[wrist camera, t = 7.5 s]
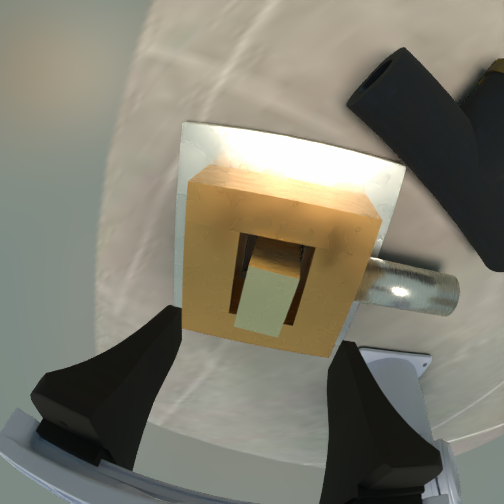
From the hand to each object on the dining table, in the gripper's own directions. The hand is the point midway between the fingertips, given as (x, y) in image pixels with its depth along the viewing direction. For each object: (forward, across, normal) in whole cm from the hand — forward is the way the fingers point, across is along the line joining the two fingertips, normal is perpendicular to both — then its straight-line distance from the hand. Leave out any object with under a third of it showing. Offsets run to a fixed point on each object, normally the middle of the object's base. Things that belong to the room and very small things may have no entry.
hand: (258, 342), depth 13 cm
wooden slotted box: (+10, -3, 0) cm, 10 cm away
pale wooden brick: (+10, 0, 0) cm, 10 cm away
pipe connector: (+10, -12, -12) cm, 19 cm away
